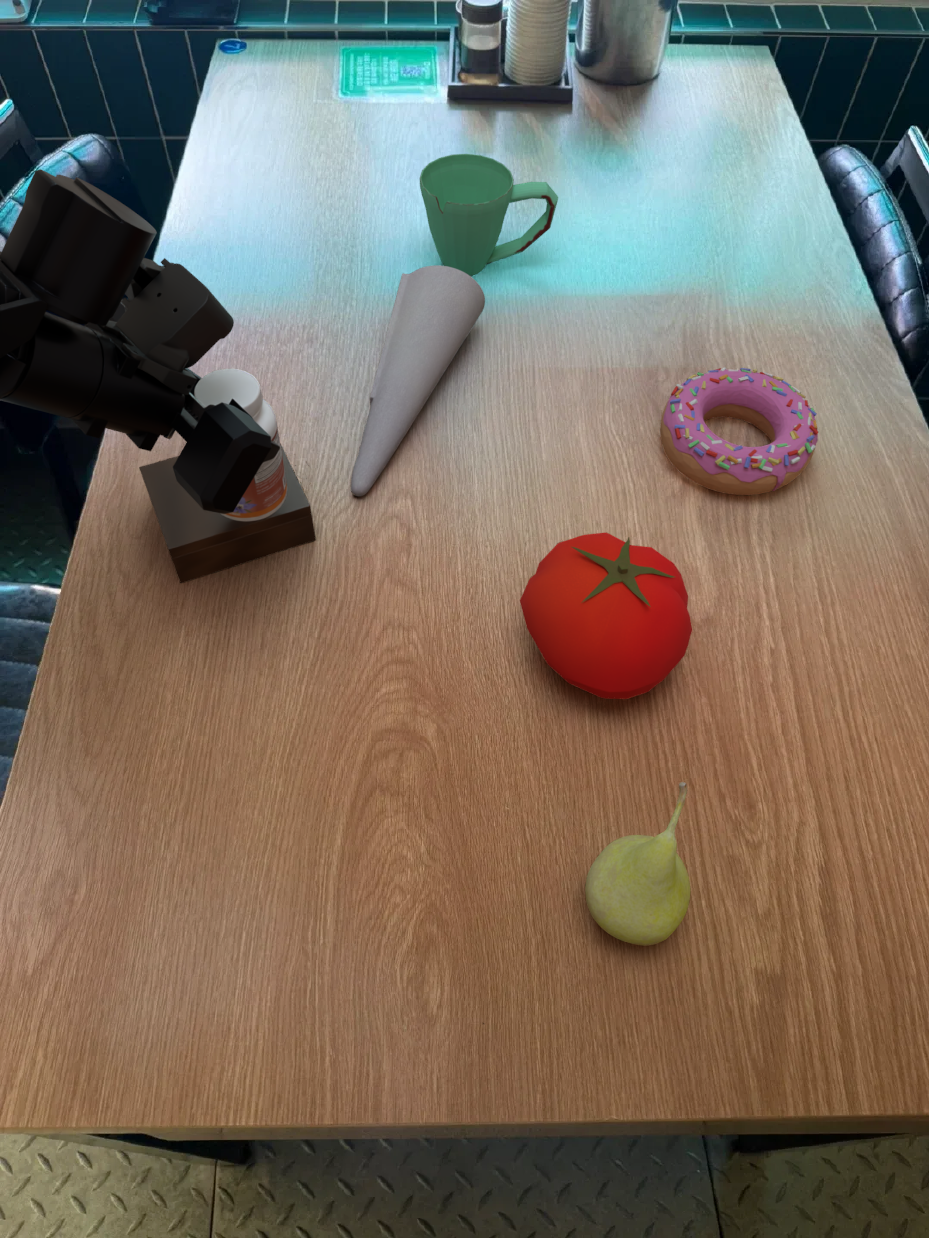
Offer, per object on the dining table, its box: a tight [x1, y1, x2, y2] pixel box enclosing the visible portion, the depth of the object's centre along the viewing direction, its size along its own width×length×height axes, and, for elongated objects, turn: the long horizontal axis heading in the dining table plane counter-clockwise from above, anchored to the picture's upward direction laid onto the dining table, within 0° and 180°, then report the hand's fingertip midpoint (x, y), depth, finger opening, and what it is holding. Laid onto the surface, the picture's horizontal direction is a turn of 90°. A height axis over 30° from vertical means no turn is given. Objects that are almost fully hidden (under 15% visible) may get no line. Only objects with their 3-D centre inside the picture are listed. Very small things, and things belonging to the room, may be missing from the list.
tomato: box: [519, 531, 693, 700], centre depth 72 cm, size 13×12×11 cm
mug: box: [419, 153, 559, 277], centre depth 103 cm, size 15×10×10 cm
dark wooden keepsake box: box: [139, 442, 317, 584], centre depth 82 cm, size 12×10×4 cm
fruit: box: [584, 781, 692, 947], centre depth 60 cm, size 7×8×12 cm
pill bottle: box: [194, 368, 287, 521], centre depth 72 cm, size 6×6×11 cm
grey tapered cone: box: [350, 264, 486, 497], centre depth 91 cm, size 8×9×26 cm
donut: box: [659, 366, 819, 496], centre depth 88 cm, size 14×14×5 cm
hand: (252, 428), depth 72 cm, fingers closed on pill bottle, 6 cm apart
